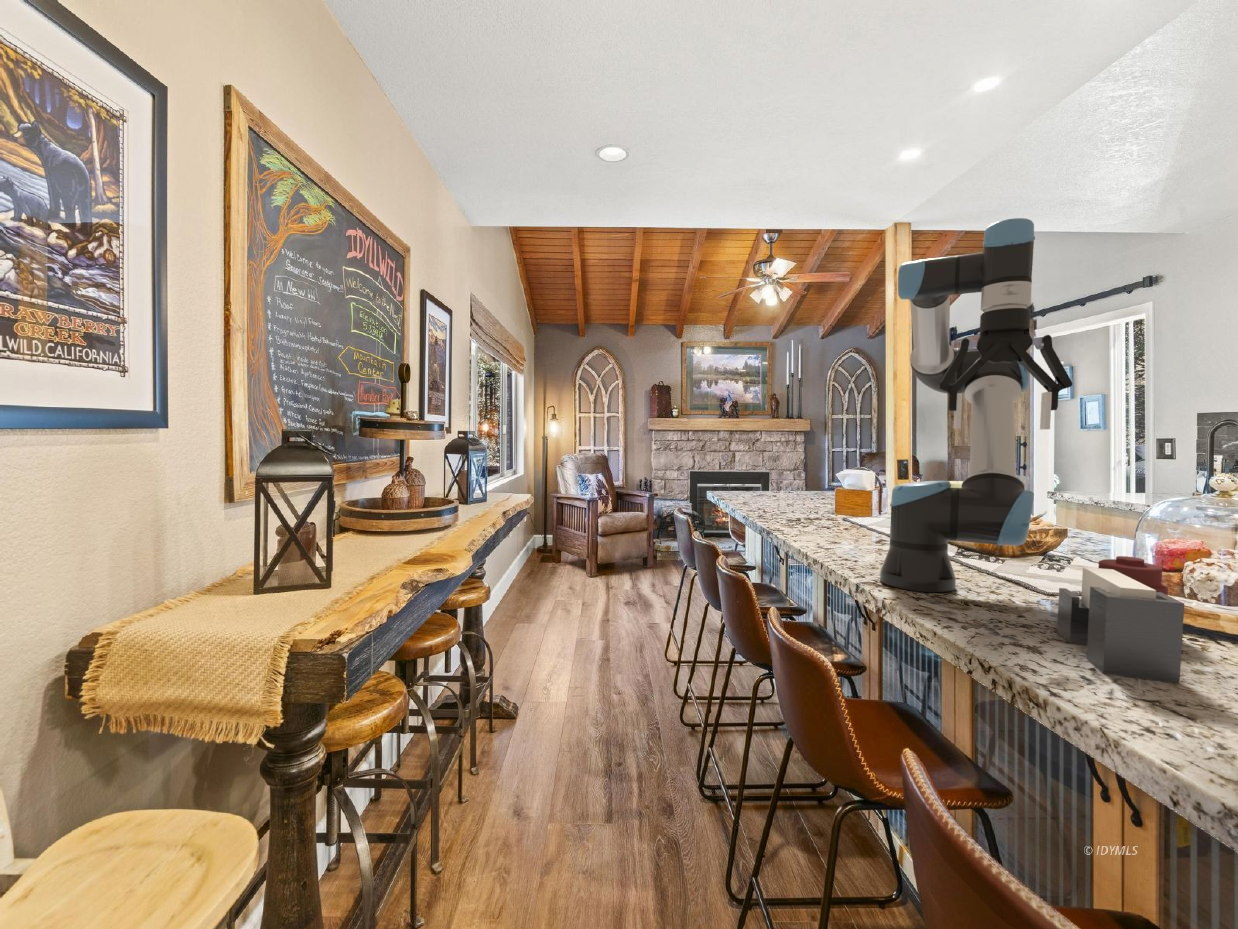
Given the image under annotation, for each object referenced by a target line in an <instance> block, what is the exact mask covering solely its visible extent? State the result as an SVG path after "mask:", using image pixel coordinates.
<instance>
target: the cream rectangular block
mask: <svg viewBox="0 0 1238 929" xmlns="http://www.w3.org/2000/svg"><path fill="white" fill-rule="evenodd" d="M1090 586H1091V587H1101V588H1102V589H1104V590H1106V591H1107V592H1109V593H1111V594H1113V595H1115V596H1126V597H1137V598H1149V599H1156V590H1154V589H1152V588H1150V587H1148V586H1146V585H1144V584H1142V583H1140V582H1138V581H1136V580H1134V579H1132V578H1130V577H1128V576H1126V575H1124V574H1121V573H1119V572H1117V571H1115V570H1113V569H1101V568H1097V567H1085V566H1083V567H1082V580H1081V597H1080V599H1081V603H1082V604H1083V605H1085V606H1086V607H1087V608H1089V601H1090Z"/></svg>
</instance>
